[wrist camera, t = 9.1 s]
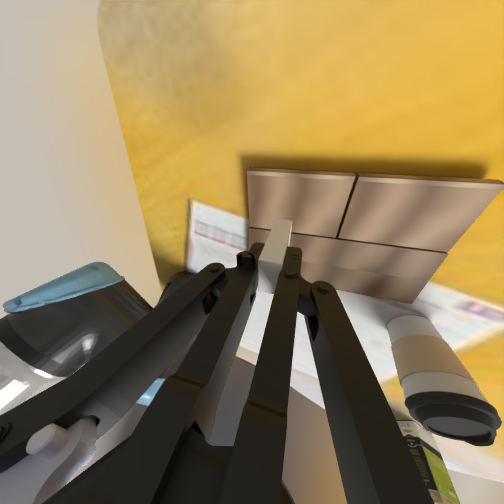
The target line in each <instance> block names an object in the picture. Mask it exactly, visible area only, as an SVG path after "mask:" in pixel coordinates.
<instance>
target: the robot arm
mask: <svg viewBox="0 0 504 504" xmlns="http://www.w3.org/2000/svg"><path fill="white" fill-rule="evenodd" d="M291 229H292V221H291V220H282V219H276V220H275V222H274V225H273V227H272V229H271V232H270V234H269V236H268V239H267V241H266V243H259V242H256V243H254V244H253V245H252V246H251V248H250V250H249V251H244V252H240V253H238V254H237V255H236V256H237V266H236V267H235V268H225V267H224V265H223V264H221V263H211V264H209V265H207V266H206V267H205V268H204V269H202V270H201V271H200V272H199V273H197V274H193V273H188V272H181V273H177V274H175V275H174V276H173V277H172V278H171V279H170V280H169V281H168V282H167V284H166V286H165V288H164V291H163V293H162V295H161V297H160V299H159V302H158V304H157V305H156V306H155V308H152V307H151V306H150V305H149V304H148V303H147V302H146V301H145V300H144V299H143V298H142V297H141V296H140V295H139V294H138V293H137V292H136V290H135V289H134V288H133V287H131V285H129V284H128V283H127V281H125V278H124V277H123V276H120V275H119V274H118V273H117V272H116V271H115V270H114V269H113V268H111V267H110V266H109V265H108V264H106V263H103V262H93V263H90V264H88V265H85V266H83V267H81V268H79V269H76V270H75V271H72V272H70V273H68V274H65V275H63V276H61V277H59V278H57V279H55V280H52V281H50V282H48V283H46V284H43V285H42V286H39V287H37V288H35V289H33V290H30V291H28V292H26V293H24V294H22V295H20V296H18V297H16V298H14V299H11V300H9V301H7V302H5V303H4V304H3V308H4V311H5V312H7V313H9V314H8V315H6V316H5V317H4V318H1V319H0V504H295V503H294V500H293V498H292V496H291V494H290V492H289V490H288V488H287V487H286V485H285V483H284V482H283V480H282V472H283V462H284V451H285V440H286V430H287V407H288V396H289V387H290V377H291V367H292V357H293V347H294V337H295V328H296V318H297V312H299V313H301V314H303V315H304V317H305V322H306V326H307V330H308V335H309V339H310V343H311V348H312V352H313V357H314V361H315V365H316V370H317V374H318V378H319V383H320V387H321V391H322V396H323V400H324V404H325V409H326V413H327V417H328V422H329V426H330V430H331V435H332V439H333V444H334V448H335V452H336V457H337V461H338V465H339V470H340V474H341V478H342V482H343V487H344V491H345V496H346V500H347V504H435V503H434V501H433V499H432V497H431V495H430V492H429V490H428V488H427V486H426V484H425V482H424V479H423V477H422V475H421V473H420V471H419V469H418V467H417V464H416V462H415V460H414V458H413V456H412V454H411V451H410V449H409V447H408V445H407V443H406V441H405V438H404V436H403V434H402V432H401V430H400V428H399V426H398V423H397V421H396V419H395V417H394V415H393V413H392V410H391V408H390V406H389V404H388V402H387V400H386V397H385V395H384V393H383V391H382V389H381V387H380V385H379V382H378V380H377V378H376V376H375V374H374V372H373V369H372V367H371V365H370V363H369V361H368V359H367V356H366V354H365V352H364V350H363V348H362V346H361V344H360V341H359V339H358V337H357V335H356V333H355V331H354V328H353V326H352V324H351V322H350V320H349V318H348V316H347V313H346V311H345V309H344V307H343V305H342V303H341V300H340V298H339V296H338V294H337V292H336V290H335V288H334V287H333V285H331V284H330V283H328V282H325V281H315V282H313V283H310V282H308V281H306V280H305V279H304V278H303V277H302V276H301V262H302V250H301V249H300V248H297V247H290V246H289V244H290V237H291ZM257 287H258V291H261V292H266V293H271V294H274V296H273V300H272V304H271V308H270V312H269V316H268V320H267V324H266V328H265V332H264V336H263V340H262V344H261V348H260V352H259V356H258V360H257V364H256V368H255V372H254V376H253V380H252V384H251V388H250V392H249V396H248V399H247V401H246V403H245V405H244V408H243V412H242V415H241V419H240V423H239V427H238V431H237V434H236V438H235V442H234V446H212V445H209V444H208V441H209V438H210V435H211V432H212V429H213V426H214V421H215V416H216V410H217V407H218V404H219V400H220V398H221V395H222V392H223V389H224V386H225V383H226V381H227V378H228V375H229V372H230V369H231V366H232V363H233V361H234V358H235V355H236V352H237V349H238V346H239V343H240V340H241V338H242V335H243V332H244V329H245V326H246V323H247V320H248V318H249V315H250V312H251V309H252V306H253V303H254V300H255V297H256V290H257ZM84 364H85V365H84ZM82 365H84V366H82ZM81 366H82V367H81ZM80 367H81V368H80ZM79 368H80V369H79ZM78 369H79V370H78ZM74 372H75V373H74ZM73 373H74V374H73ZM58 380H62V381H60V382H59V383H57V384H55V385H53V386H52V387H50V388H48V389H46V390H44V391H43V392H41V393H39V394H37V395H36V396H34V397H32V398H30V399H29V400H27V401H25V400H26V399H27V398H28V397H30V396H31V395H32V394H33V393H34V392H35V391H37V390H38V389H39V388H40V387H41V386H43V385H44V384H46V383H48V382H53V381H58ZM24 401H25V402H24ZM22 402H23V403H22ZM135 403H139V404H143V405H148V408H147V409H146V411H145V413H144V415H143V416H142V418H141V420H140V421H139V423H138V425H137V426H136V428H135V430H134V431H133V433H132V435H131V436H129V437H128V438H127V439H126V440H124V441H123V442H121V443H120V444H119V445H117V446H116V447H115V448H114V449H112V450H111V451H110V452H108V453H107V454H106V455H104V456H103V457H102V458H101V459H100V460H98V461H97V462H95V463H94V464H93V465H91V466H90V467H89V468H87V469H86V470H85V471H83V472H82V473H81V474H80V475H78V476H77V477H76V478H74V479H73V480H72V481H71V482H69V483H68V484H67V485H66V483H67V482H68V480H69V479H70V478H71V477H72V476H73V474H74V473H75V472H76V471H77V470H78V469H79V468H81V467H84V466H85V465H86V464H87V463H89V461H90V460H91V459H92V458H93V456H94V453H95V451H96V445H95V443H96V440H97V439H99V438H100V437H101V436H102V435H104V434H105V433H106V432H107V431H108V430H109V429H110V428H112V427H113V426H114V425H115V424H116V423H117V422H118V421H119V420H120V419H121V418H122V417H123V416H124V415H125V414H126V413H127V412H128V411H129V410H130V408H132V406H133V405H134V404H135Z"/></svg>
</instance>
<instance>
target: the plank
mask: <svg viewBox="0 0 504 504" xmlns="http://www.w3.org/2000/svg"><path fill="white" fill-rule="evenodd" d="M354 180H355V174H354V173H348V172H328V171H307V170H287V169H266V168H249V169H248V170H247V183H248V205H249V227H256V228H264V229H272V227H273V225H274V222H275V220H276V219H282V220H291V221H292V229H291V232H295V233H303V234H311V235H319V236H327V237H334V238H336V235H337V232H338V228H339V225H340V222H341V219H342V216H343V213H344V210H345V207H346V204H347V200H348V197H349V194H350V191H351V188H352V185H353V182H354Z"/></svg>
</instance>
